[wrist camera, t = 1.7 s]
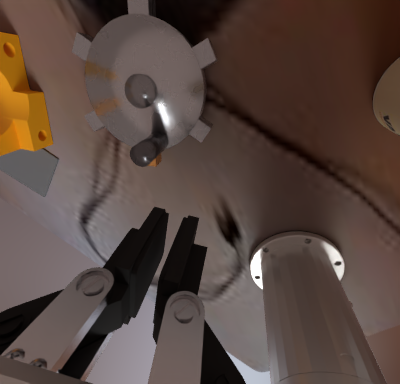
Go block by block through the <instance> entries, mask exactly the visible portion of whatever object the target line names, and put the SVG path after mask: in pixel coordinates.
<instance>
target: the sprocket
mask: <svg viewBox="0 0 400 384" xmlns="http://www.w3.org/2000/svg"><path fill="white" fill-rule="evenodd" d="M128 13H129V14H128V15H123V16H120V17H118V18H115V19H114V20H112V21H110V22H109V23H107V24H106V25H105V26H104V27H103V28H102V29H101V30H100V31H99V32H98V33H97V35H96V36H95V38H92V37H91V36H90V35H87V34H83V33H79V32H77V34H76V38H75V42H74V45H73V49H72V52H73V53H74V54H76V55H77V56H79V57H80V58H82V59H83V60H84V61H86V66H85V80H86V87H87V93H88V96H89V99H90V102H91V105H92V107H93V109H94V110H93V111H92V112H90V113H89V114H87V115H85V116H84V117H85V119H86V120H87V122H88V123H89V125H90V126H91V128H92V129H93V131H94V132H95V131H97V130H100V129H102V128H104V127H106V129H107V130H108V131H109V132H110V133H111V134H112V135H114V136H115V137H116V138H117V139H119V140H120V141H122V142H123V143H125V144H127V145H129V146H131V147H132V148H131V151H130V157H131V159H132V161H133V162H134V163H135V164H136V165H138V166H141V167H145V166H157V165H158V164H159V163H160V162H161V152H162V151H163V150H164V149H167V148H170V147H172V146H174V145H176V144H178V143H179V142H181V141H182V140H183V139H184V138H185V137H186V136H187V135H188V134H190V135H191V136H192V137H194V138H195V139H197V140H198V141H199V142H201V143H202V141H203V140H204V138H205V137H206V135H207V134H208V132H209V131H210V129H211V128H212V126H213V124H211V123H210V122H209V121H207V120H206V119H204V118H203V117H202V116H201V115H202V113H203V110H204V106H205V102H206V92H207V86H206V77H205V72H204V69H205V68H207V67H209V66H210V65H212V64H214V63H216V62H217V61H218V59H217V56H216V54H215V51H214V49H213V46H212V44H211V41H210V40H209V39H208V38H207V39H205V40H203V41H202V42H200V43H199V44H197V45H196V46H194V47H193V45H192V44H191V43H190V42H189V40H188V39H187V38H186V37H185V36H184V35H183V34H182V33H181V32H179V31H178V30H177V29H175V28H174V27H172V26H171V25H169V24H168V23H166V22H164V21H162V20H161V19H159V18H156V4H155V0H128Z"/></svg>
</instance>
